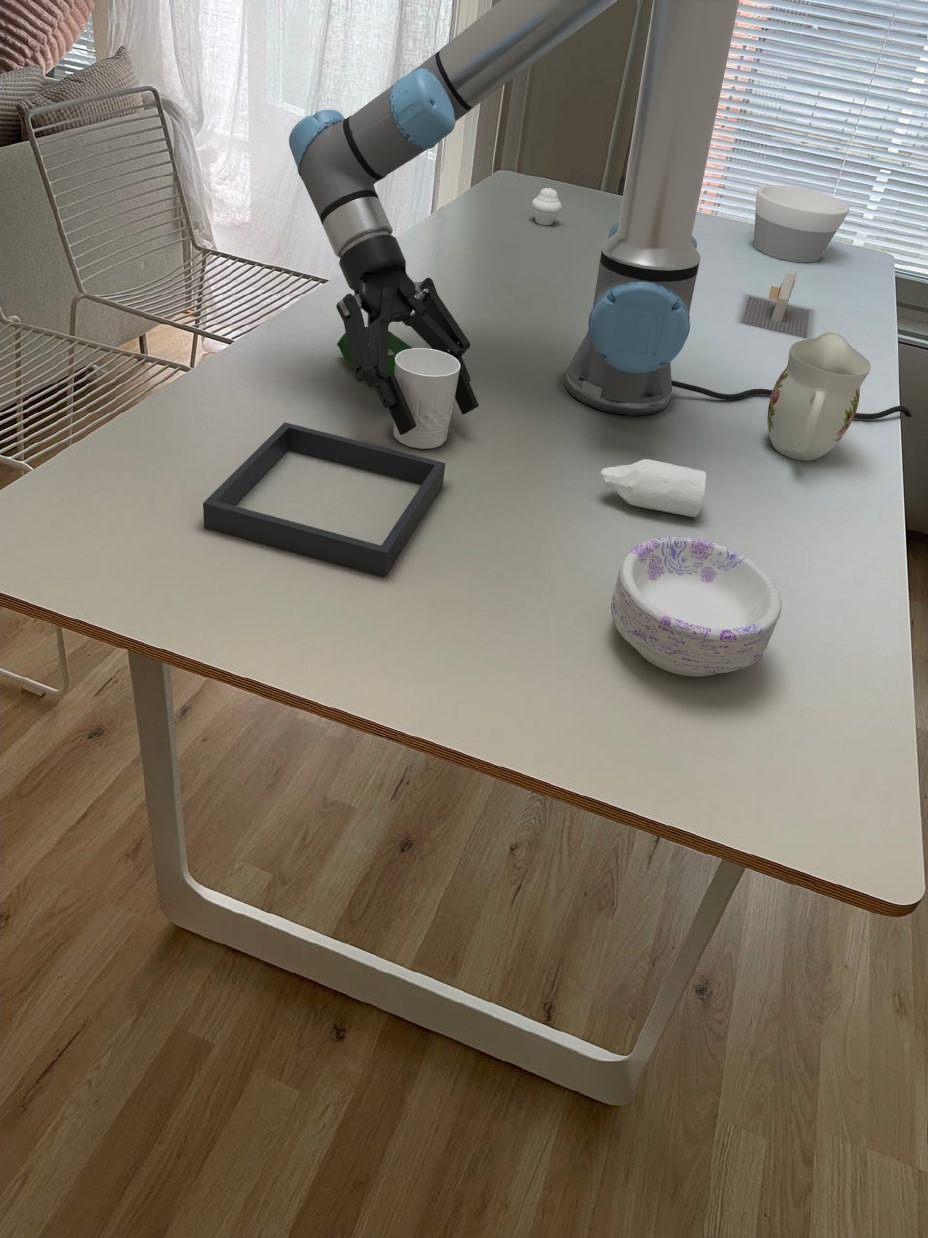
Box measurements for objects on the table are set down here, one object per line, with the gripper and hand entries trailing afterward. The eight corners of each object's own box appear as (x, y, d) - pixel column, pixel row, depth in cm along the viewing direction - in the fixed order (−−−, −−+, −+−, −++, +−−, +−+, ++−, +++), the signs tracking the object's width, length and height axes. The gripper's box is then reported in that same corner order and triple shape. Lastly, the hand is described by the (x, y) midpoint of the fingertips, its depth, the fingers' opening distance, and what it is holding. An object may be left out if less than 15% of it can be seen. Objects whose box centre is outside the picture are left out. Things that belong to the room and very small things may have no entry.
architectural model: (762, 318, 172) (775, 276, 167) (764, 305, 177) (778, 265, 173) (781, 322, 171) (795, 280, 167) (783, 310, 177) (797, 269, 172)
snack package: (390, 405, 127) (394, 368, 124) (331, 357, 137) (333, 321, 133) (434, 397, 131) (439, 361, 128) (374, 350, 140) (377, 315, 137)
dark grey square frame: (442, 485, 113) (445, 462, 111) (385, 577, 98) (387, 552, 96) (284, 444, 116) (284, 421, 114) (203, 527, 100) (202, 502, 99)
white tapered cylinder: (595, 483, 118) (605, 442, 115) (692, 501, 118) (705, 460, 114) (593, 508, 113) (603, 466, 110) (695, 527, 113) (708, 485, 109)
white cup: (387, 419, 124) (393, 345, 118) (448, 423, 125) (457, 350, 119) (389, 449, 118) (395, 373, 112) (453, 454, 119) (463, 378, 113)
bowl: (843, 271, 200) (862, 218, 193) (752, 260, 199) (769, 205, 192) (817, 242, 215) (834, 191, 208) (733, 231, 214) (748, 179, 207)
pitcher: (747, 468, 126) (781, 370, 117) (762, 414, 140) (794, 322, 131) (832, 492, 124) (873, 393, 115) (839, 435, 137) (876, 343, 129)
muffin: (527, 224, 198) (533, 188, 194) (530, 216, 203) (536, 181, 199) (557, 229, 198) (563, 193, 194) (559, 221, 203) (565, 186, 199)
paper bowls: (656, 713, 87) (680, 645, 82) (576, 610, 97) (592, 545, 92) (789, 681, 93) (818, 617, 88) (699, 588, 103) (721, 525, 98)
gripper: (418, 250, 126) (486, 409, 128) (275, 275, 112) (353, 453, 114) (450, 220, 120) (521, 388, 122) (304, 243, 107) (386, 432, 108)
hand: (440, 420), depth 118 cm, fingers open, 10 cm apart
